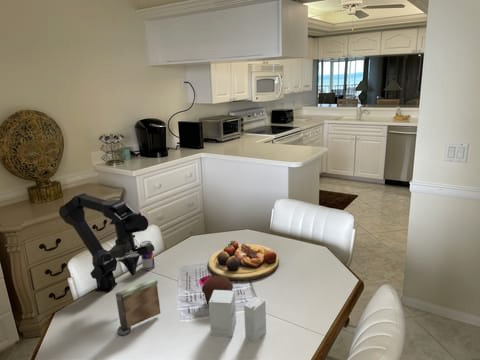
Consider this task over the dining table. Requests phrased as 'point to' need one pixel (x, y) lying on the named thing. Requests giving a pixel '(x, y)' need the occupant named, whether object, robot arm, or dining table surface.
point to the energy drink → (147, 258)
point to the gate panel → (138, 303)
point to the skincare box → (255, 318)
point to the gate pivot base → (123, 331)
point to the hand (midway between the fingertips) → (133, 275)
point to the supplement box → (222, 313)
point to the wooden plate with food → (243, 261)
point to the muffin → (216, 286)
